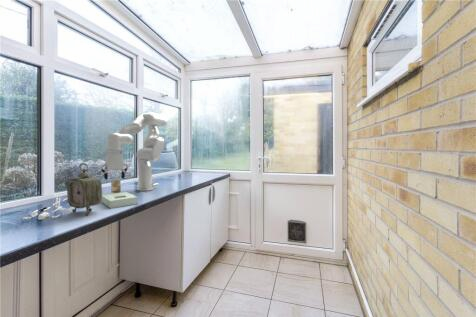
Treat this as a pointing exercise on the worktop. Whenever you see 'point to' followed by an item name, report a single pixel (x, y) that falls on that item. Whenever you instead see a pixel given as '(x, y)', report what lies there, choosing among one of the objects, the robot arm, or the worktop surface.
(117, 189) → the oak post
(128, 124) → the robot arm
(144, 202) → the worktop surface
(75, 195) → the tabletop clock
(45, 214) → the miniature set
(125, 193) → the board
